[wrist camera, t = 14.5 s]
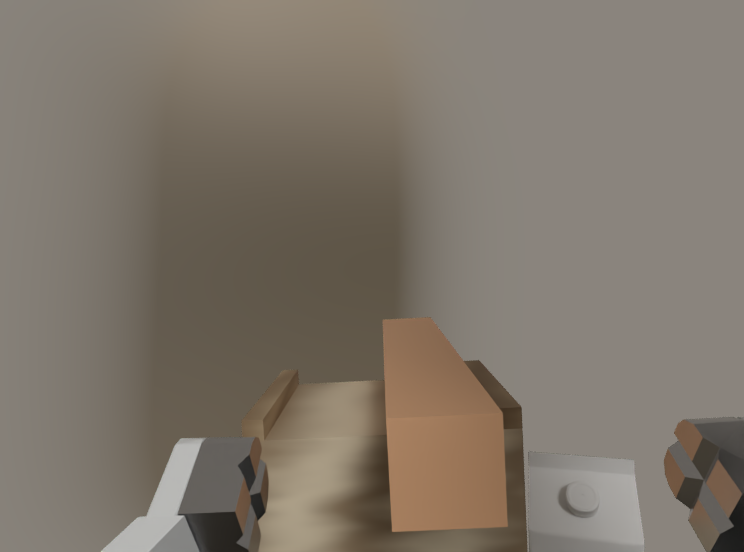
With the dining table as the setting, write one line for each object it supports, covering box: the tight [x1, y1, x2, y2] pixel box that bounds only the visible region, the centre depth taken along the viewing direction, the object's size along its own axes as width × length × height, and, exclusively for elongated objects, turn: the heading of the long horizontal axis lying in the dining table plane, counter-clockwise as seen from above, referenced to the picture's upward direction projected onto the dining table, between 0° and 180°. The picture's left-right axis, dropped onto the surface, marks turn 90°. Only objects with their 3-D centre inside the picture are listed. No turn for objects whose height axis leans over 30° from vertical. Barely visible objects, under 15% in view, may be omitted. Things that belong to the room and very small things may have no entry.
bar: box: [383, 317, 508, 532], centre depth 26 cm, size 4×22×4 cm, turn 179°
